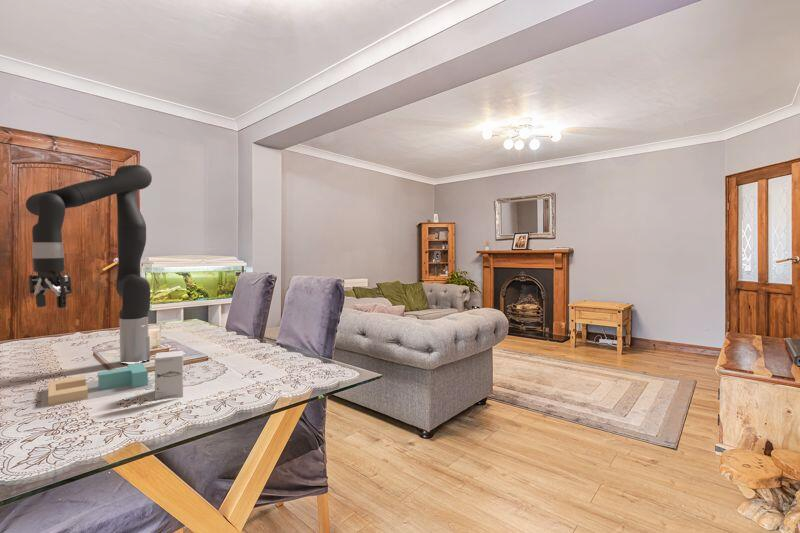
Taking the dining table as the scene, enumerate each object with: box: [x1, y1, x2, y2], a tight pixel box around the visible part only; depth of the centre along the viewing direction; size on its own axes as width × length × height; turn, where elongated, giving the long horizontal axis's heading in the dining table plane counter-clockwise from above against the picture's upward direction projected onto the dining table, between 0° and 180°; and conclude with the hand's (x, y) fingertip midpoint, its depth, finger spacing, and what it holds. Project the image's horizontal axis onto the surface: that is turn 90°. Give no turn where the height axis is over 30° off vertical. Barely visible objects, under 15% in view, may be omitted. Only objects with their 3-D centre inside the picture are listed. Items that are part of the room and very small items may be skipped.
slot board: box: [40, 375, 154, 409], centre depth 122 cm, size 26×18×4 cm
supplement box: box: [154, 350, 184, 402], centre depth 120 cm, size 7×7×13 cm
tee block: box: [97, 362, 149, 390], centre depth 126 cm, size 12×12×4 cm
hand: (51, 307), depth 128 cm, fingers open, 8 cm apart
